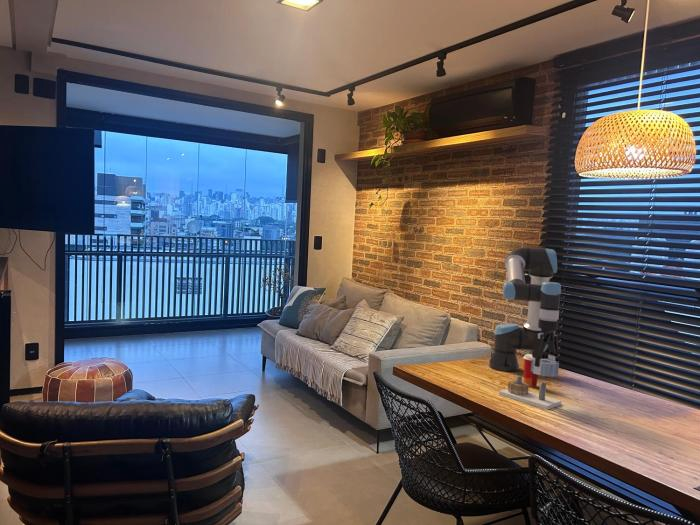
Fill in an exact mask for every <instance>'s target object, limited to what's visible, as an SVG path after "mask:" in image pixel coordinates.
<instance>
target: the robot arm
mask: <svg viewBox="0 0 700 525" xmlns="http://www.w3.org/2000/svg"><path fill="white" fill-rule="evenodd" d="M556 252H557V251H555V249H551V248H546V247H545V248H541V247H525V246H523V247H518V248H516V249H514V250H512V251H510V252H509V253H508V254H507V255H506V257H505V259H504V267H505V269H506V273H507V274H506V276H507V281H506V282H505V281H504V283H503V286H502V287H503V288H502V289H503V290H502V297H503V299H505V300H511V301H525V302H528V307H527V308H528V310H527V318H526V321H525V322H524V323H523V327H521V326H520V325H519V324H518V323H511V322H510V323H508V322H507V323H500V324H497V325H496V326H495V330H494V339H493V340H494V341H493V352H492V355H491V356H490V359H489V362H488V367H490V368H491V369H493V370H497V371H500V372H519V370H520V364H519V361H518V356H517V351H527V352H532V354H531V355H532V357H533V358H535V366H534V374H537V375H538V376H541V369H542V359H543V358H542V357H543V354H544V353H545V352H546V351H547V349H548V353H549V354H548V355H547V356H548V357H547V359H548V360H552V361H556V357H558V356H559V339H558V337H559V332H558V329H559V328H558V327H559V321H558V320H560V319H559V317H560V302H561V294H562V285H561V283H559V282H553V281H550V279H552V278H553V276H554V274H556V273H558V259H557V253H556ZM527 271H528V276H529V277H530V283H526V279H525V272H527Z"/></svg>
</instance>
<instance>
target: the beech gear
mask: <svg viewBox="0 0 700 525" xmlns="http://www.w3.org/2000/svg"><path fill="white" fill-rule="evenodd" d="M529 388H530V387H529V385H528V383H524V381H522V384H521V385H520V384H516V380H510V381H508V384H507V389H508V391H509V393H513V394H515V395H525V394H527V395H528V391H529Z"/></svg>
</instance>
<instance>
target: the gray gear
mask: <svg viewBox="0 0 700 525" xmlns="http://www.w3.org/2000/svg"><path fill="white" fill-rule="evenodd" d="M541 359H542V369H541V375H540V376H542V377H551V378H552V377H554V378H555V376H559V368H560V363H559V362H558V361H557V360H555V361H552V360H548V358H541ZM534 366H535V359H532V362H531V371H532V372H533V373H534Z"/></svg>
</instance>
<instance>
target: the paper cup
mask: <svg viewBox="0 0 700 525" xmlns="http://www.w3.org/2000/svg"><path fill="white" fill-rule="evenodd" d="M522 358H523V382H524V383H528V385H529V388H537V383H538V378H539V375H537V374H534V373H533V372H532V371H531V362H532V359H535V358H533V357H532V354H531V353H530V354H529V353H527V354H524V356H523V357H522Z"/></svg>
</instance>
